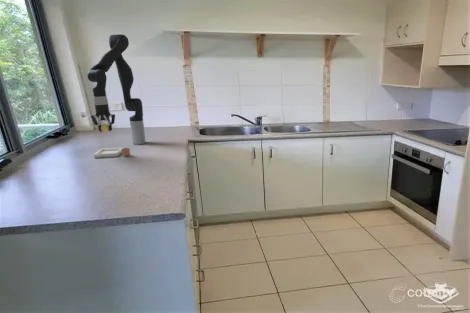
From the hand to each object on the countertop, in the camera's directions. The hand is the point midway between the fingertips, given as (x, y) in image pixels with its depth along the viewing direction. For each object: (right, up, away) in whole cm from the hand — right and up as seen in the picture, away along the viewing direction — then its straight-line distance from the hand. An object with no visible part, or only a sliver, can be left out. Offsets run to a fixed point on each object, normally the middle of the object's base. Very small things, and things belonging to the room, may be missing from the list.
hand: (105, 131), depth 174 cm
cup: (+13, -16, 0) cm, 20 cm away
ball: (0, +2, -1) cm, 2 cm away
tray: (0, -15, +4) cm, 15 cm away
